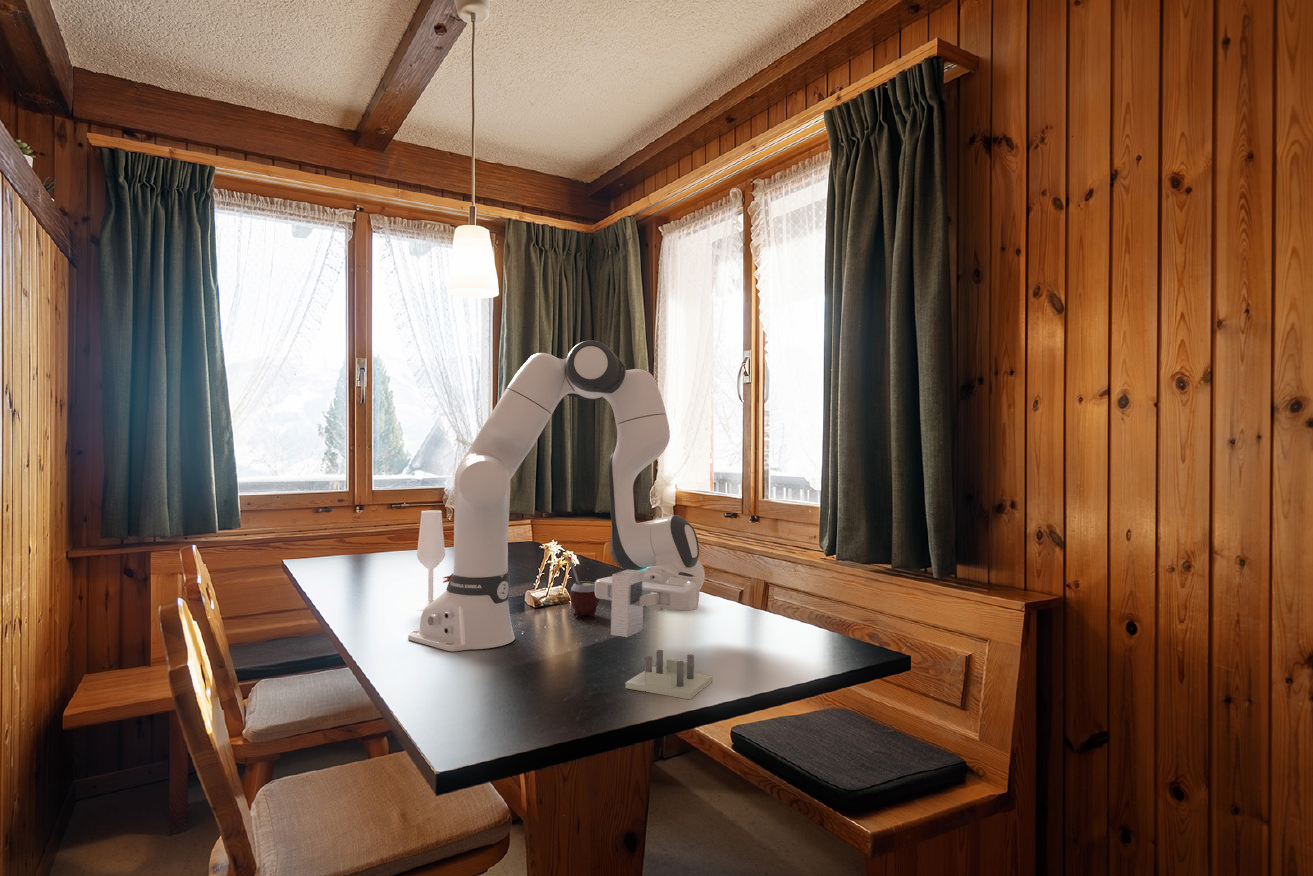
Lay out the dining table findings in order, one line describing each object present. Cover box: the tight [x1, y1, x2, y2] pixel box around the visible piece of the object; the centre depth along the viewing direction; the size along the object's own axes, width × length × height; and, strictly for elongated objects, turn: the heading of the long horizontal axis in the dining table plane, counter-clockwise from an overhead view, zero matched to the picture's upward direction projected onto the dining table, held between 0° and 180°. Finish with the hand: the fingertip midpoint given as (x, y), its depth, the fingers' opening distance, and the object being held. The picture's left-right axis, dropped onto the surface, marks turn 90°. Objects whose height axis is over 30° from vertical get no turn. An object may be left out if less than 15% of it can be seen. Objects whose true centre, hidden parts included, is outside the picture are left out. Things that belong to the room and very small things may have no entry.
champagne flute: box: [416, 509, 446, 612], centre depth 188 cm, size 7×7×24 cm
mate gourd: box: [561, 554, 601, 620], centre depth 180 cm, size 8×8×15 cm
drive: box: [610, 569, 644, 638], centre depth 140 cm, size 3×6×11 cm, turn 154°
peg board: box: [625, 649, 713, 700], centre depth 132 cm, size 12×10×5 cm
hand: (626, 599), depth 139 cm, fingers closed on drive, 3 cm apart
